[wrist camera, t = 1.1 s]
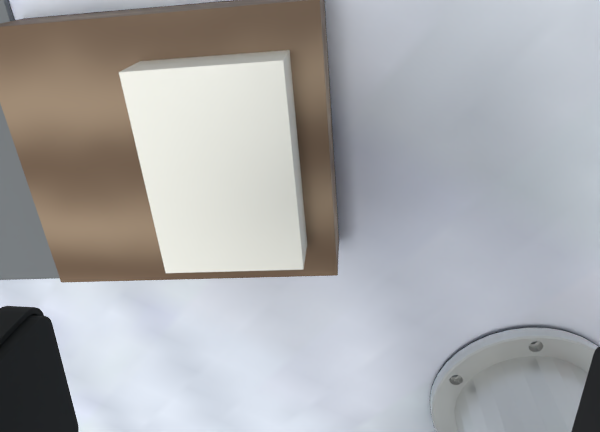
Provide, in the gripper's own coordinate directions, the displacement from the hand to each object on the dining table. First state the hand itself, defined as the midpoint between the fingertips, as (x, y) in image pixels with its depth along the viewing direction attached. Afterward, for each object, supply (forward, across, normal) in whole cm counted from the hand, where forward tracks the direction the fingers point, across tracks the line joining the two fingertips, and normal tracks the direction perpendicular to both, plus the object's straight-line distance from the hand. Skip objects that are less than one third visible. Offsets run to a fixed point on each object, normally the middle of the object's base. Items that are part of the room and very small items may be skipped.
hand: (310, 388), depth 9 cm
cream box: (+17, +6, +2) cm, 18 cm away
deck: (+21, +8, +2) cm, 23 cm away
